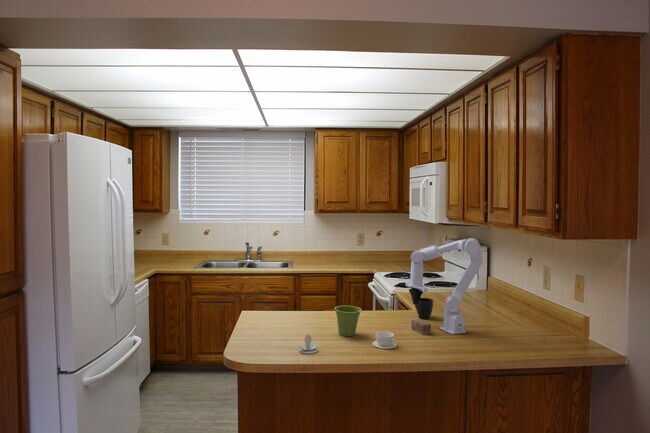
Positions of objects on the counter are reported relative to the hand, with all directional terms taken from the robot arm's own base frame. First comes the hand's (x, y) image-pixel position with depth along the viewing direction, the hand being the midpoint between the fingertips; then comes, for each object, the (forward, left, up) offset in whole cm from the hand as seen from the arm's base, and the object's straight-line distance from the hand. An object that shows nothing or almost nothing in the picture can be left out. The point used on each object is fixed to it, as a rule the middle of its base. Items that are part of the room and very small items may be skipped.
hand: (415, 304), depth 198 cm
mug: (+12, -12, -11) cm, 20 cm away
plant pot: (-1, +37, -11) cm, 38 cm away
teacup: (-19, +28, -11) cm, 35 cm away
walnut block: (-3, +3, -8) cm, 9 cm away
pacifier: (-16, +60, -11) cm, 63 cm away
